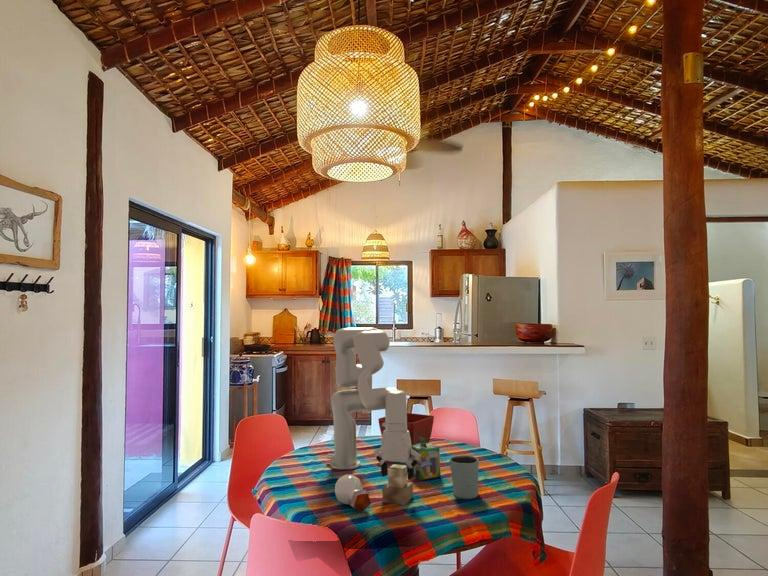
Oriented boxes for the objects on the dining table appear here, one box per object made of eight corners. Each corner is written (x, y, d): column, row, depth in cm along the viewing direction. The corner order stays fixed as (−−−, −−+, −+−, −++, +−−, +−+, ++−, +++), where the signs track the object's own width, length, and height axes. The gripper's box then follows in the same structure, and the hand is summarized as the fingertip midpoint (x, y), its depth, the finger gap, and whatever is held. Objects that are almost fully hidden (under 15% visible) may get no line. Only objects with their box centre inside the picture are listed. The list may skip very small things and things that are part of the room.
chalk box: (441, 477, 189) (440, 438, 189) (419, 480, 185) (418, 441, 186) (430, 470, 197) (429, 433, 198) (409, 473, 194) (409, 436, 195)
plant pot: (401, 447, 235) (400, 411, 236) (435, 452, 224) (434, 415, 225) (377, 456, 219) (377, 418, 220) (413, 463, 208) (412, 423, 209)
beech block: (388, 486, 166) (387, 468, 166) (393, 481, 170) (393, 464, 171) (402, 488, 164) (401, 469, 164) (407, 483, 168) (406, 465, 169)
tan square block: (382, 502, 165) (382, 487, 165) (392, 494, 172) (391, 479, 172) (404, 505, 161) (403, 490, 162) (413, 497, 169) (412, 482, 169)
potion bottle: (344, 501, 169) (365, 521, 157) (324, 490, 165) (343, 509, 152) (359, 477, 172) (380, 495, 159) (339, 465, 168) (359, 482, 155)
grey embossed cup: (473, 501, 163) (472, 464, 164) (445, 496, 168) (444, 460, 169) (484, 491, 172) (482, 457, 172) (457, 487, 177) (456, 453, 178)
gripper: (369, 427, 169) (370, 477, 168) (415, 431, 161) (417, 483, 160) (378, 422, 175) (379, 471, 174) (423, 426, 168) (424, 476, 167)
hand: (397, 477), depth 167 cm, fingers open, 9 cm apart
